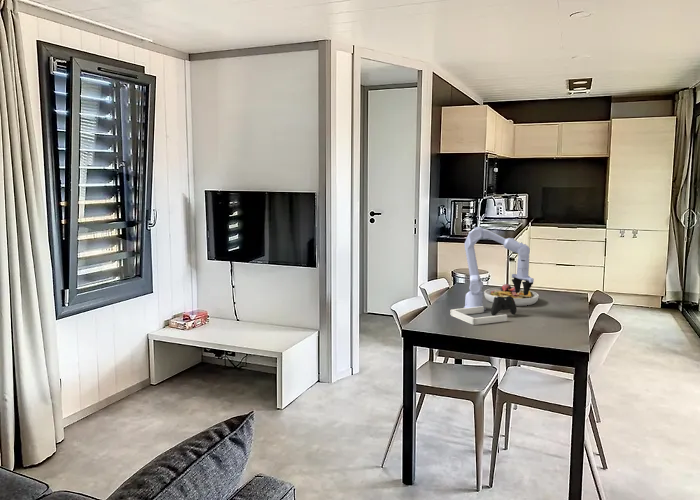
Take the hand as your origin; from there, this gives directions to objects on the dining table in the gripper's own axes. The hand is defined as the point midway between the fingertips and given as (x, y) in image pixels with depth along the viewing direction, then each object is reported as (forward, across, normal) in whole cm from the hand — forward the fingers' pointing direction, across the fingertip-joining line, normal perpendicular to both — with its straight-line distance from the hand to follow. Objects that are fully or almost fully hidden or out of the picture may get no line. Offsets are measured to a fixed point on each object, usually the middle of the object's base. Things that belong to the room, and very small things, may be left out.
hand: (521, 293), depth 289 cm
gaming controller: (+11, 0, +11) cm, 15 cm away
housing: (+10, 0, +27) cm, 29 cm away
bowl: (+11, +25, -14) cm, 31 cm away
